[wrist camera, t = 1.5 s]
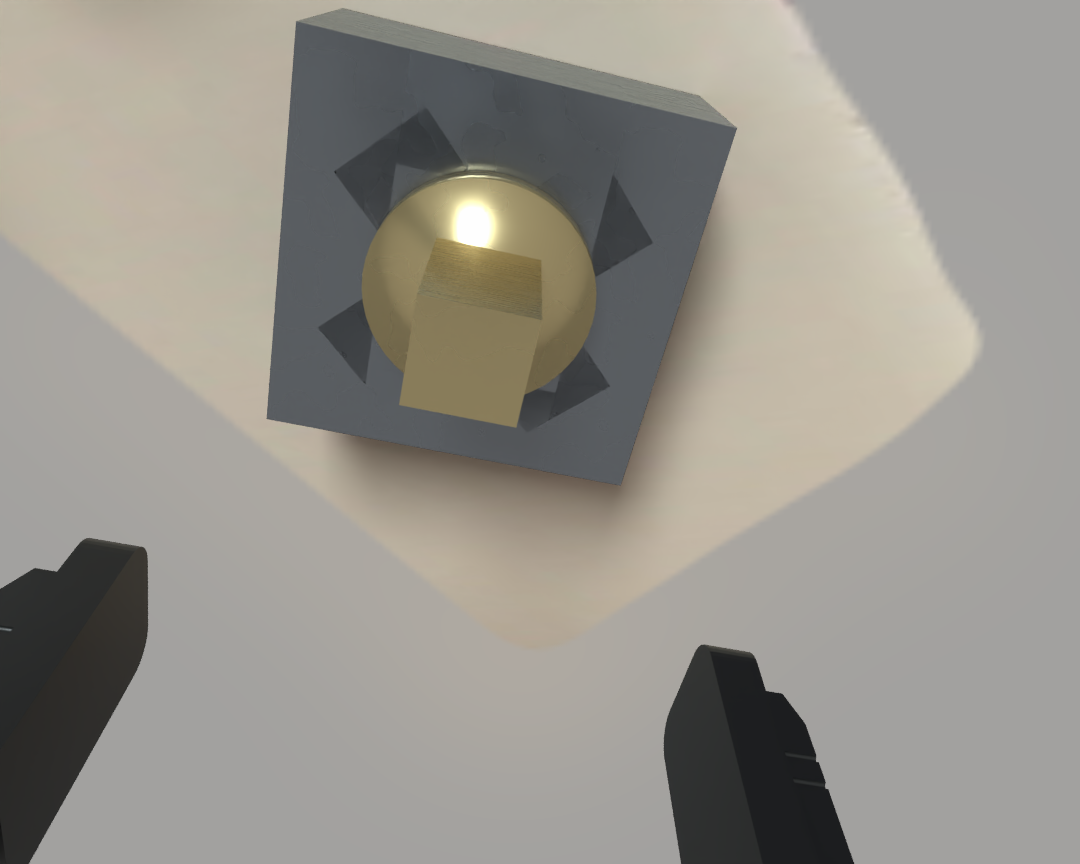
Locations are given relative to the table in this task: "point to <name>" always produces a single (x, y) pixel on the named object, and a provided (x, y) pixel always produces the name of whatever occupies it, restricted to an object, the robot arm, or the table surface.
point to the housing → (498, 146)
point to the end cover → (478, 293)
